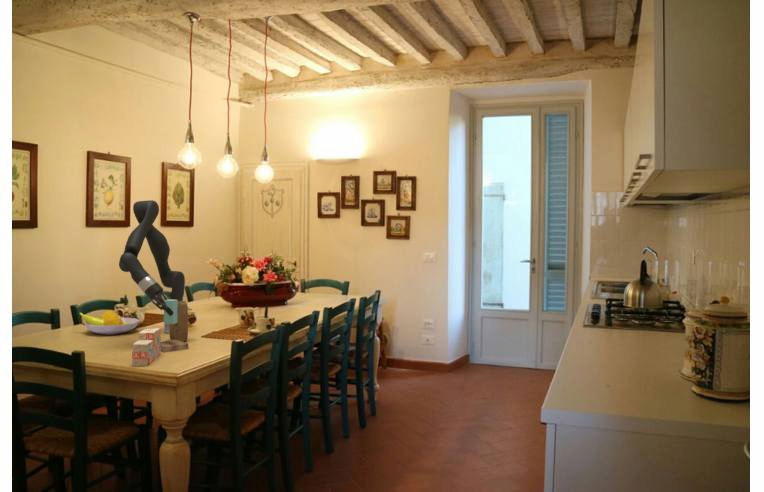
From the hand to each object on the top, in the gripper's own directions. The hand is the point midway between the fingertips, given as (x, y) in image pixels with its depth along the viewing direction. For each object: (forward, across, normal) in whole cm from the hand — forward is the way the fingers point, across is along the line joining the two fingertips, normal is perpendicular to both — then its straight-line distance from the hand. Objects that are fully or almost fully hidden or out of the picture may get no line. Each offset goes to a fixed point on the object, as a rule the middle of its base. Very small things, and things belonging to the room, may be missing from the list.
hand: (174, 313), depth 269 cm
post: (+2, 0, +5) cm, 5 cm away
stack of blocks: (+11, -23, +13) cm, 29 cm away
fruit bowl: (-24, +31, +48) cm, 62 cm away
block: (+8, +17, +16) cm, 25 cm away
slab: (+11, 0, +13) cm, 17 cm away
